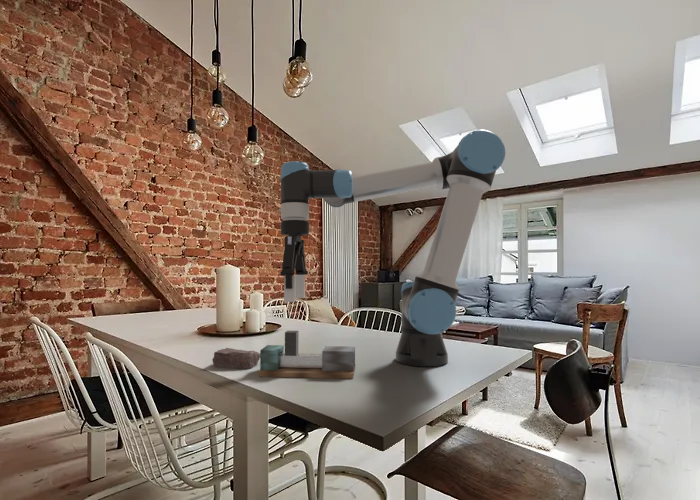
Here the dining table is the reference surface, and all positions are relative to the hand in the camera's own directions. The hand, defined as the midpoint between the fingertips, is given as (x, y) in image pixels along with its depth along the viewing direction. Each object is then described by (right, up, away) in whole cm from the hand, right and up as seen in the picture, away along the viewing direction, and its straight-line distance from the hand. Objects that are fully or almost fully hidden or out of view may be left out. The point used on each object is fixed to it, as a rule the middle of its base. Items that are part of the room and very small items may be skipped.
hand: (295, 299), depth 104 cm
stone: (-17, -20, +6) cm, 27 cm away
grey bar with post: (+1, -17, -1) cm, 17 cm away
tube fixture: (+4, -19, -2) cm, 19 cm away
